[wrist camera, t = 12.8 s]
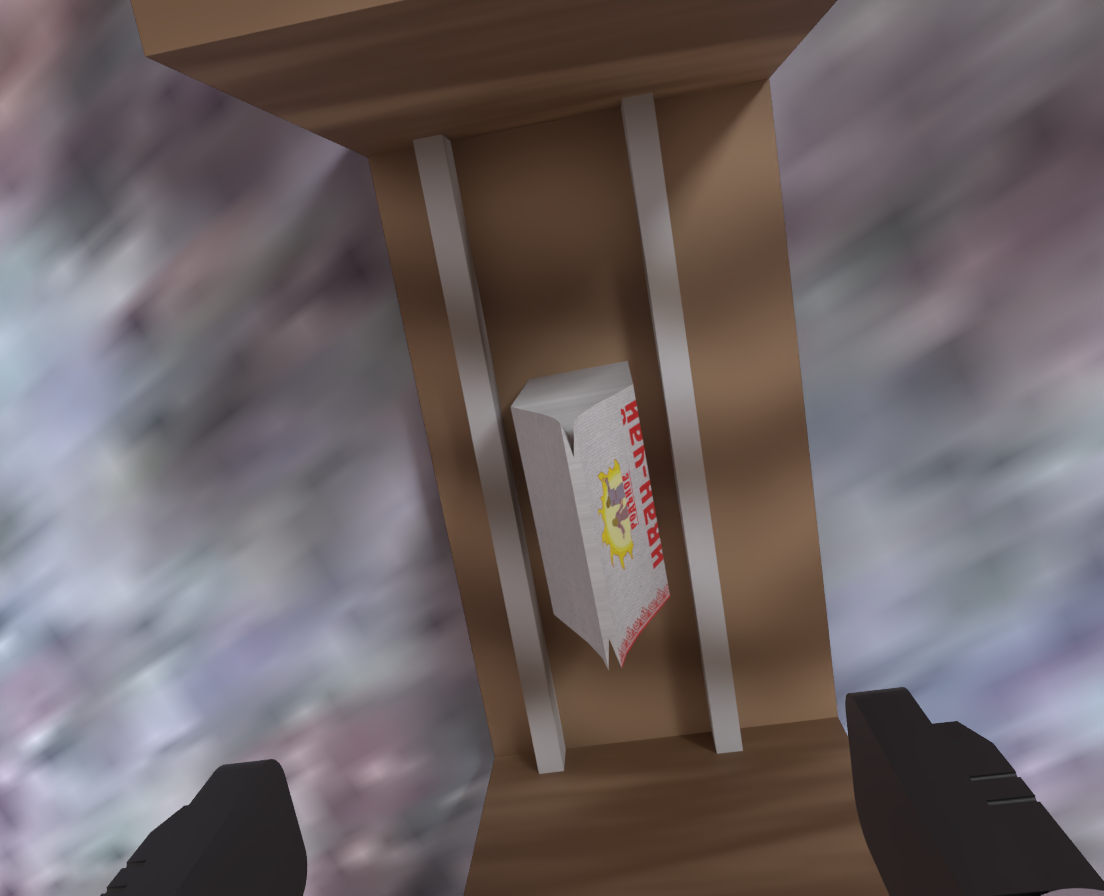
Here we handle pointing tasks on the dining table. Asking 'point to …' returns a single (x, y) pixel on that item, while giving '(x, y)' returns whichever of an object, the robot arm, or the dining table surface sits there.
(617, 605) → the white food carton
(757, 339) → the wooden rack
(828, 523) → the dining table surface
